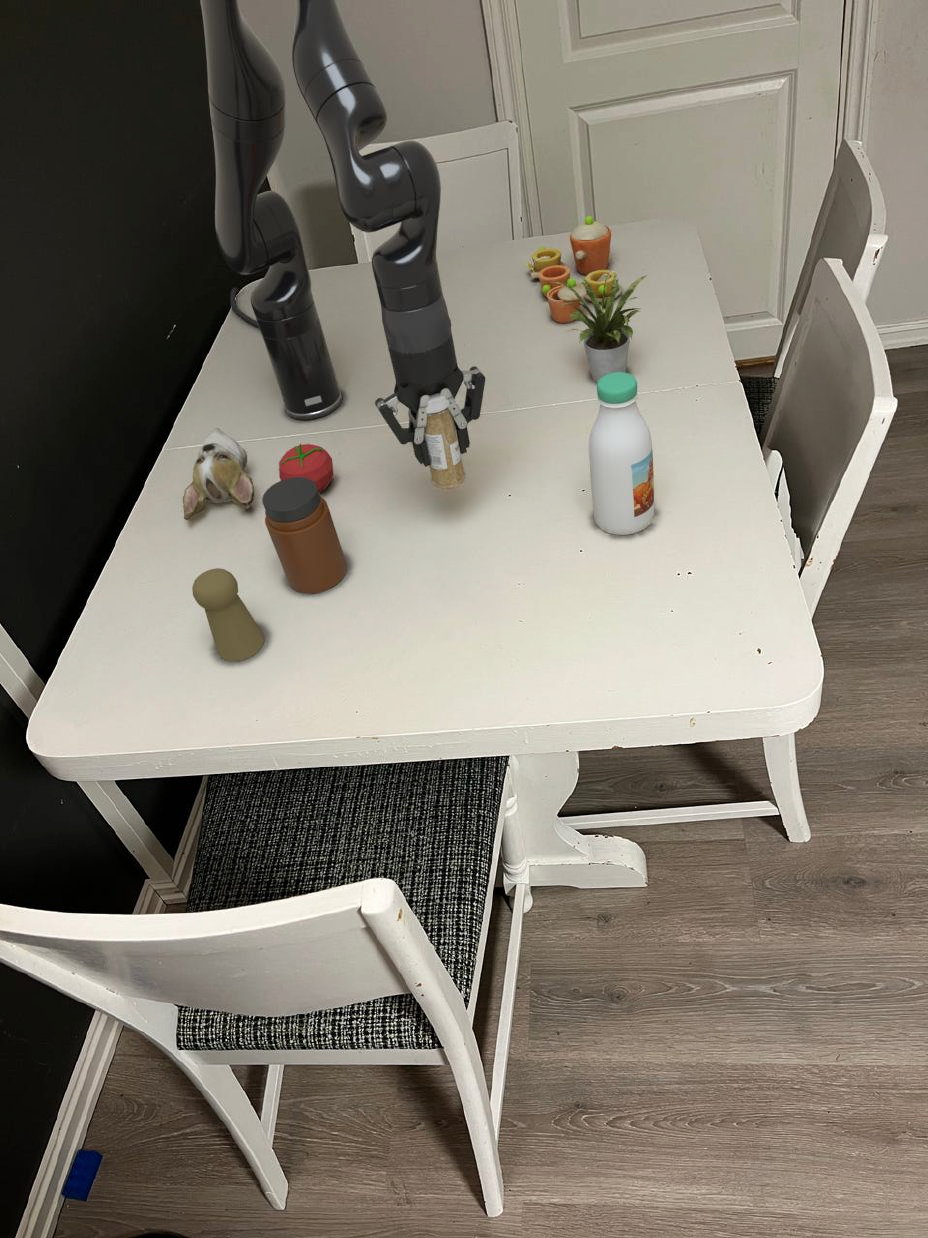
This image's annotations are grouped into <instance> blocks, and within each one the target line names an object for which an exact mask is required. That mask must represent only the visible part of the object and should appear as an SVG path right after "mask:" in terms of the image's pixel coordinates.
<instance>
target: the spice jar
mask: <svg viewBox="0 0 928 1238" xmlns="http://www.w3.org/2000/svg"><path fill="white" fill-rule="evenodd" d="M429 397H430V401H428V407H426V408H425V411H426V414H428V416H427V425H426V427H425V430H424V440H425V441H426V444H427V449H428V454H429V458H430V463H431V465H430V466H428V467H429V471H430V475H431V479H430V481H431V484H432V486H434V488H436V489H439V490H446V491H447V490H452V489H456V488H458V487H460V486H461V485H462V484H463V483H464V482H465V480H466V472H465V469H464V465H463V459H462V454H461V452H460V447H459V442H458V437H457V432H456V426H455V423H454V419H453V417H452V415H451V413H450V411H449V408H448V407H449V405H450V404H449V400H446V398H445V396H441V395H440V394H439V393H436V394H434V395H431V396H429Z"/></svg>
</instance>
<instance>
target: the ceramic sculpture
mask: <svg viewBox="0 0 928 1238" xmlns="http://www.w3.org/2000/svg"><path fill="white" fill-rule="evenodd" d="M247 453H248V452H247V450H246V449H245V448H243V447H242V446H241V444H239V442H237V441H236V439H234V438H233V437H231V436H230V435H229V434H227V433H226V432H224V431H222V430H221V429H220V428H219V427H214V428H213V429H212V431H211V433H210V434H209V435H208V436H207V437H206V438H205V439H204V440H203V443H202V445H201V447H200V448H199V451H198V455H197V458H196V460H195V462H194V465H193V469H192V470H193V471H192V482H191V483H190V484H189V485H188V486H187V487H186V488H185V489H184V491H183V493H184V494H183V496H182V504H183V506H182V507H183V520H187V521H188V520H189V519H192V518H194V517H197V516H198V515H200V514H201V513H202V512H203V511H204V510H205V509H206V506H207V502H206V501H208V502H210V503H212V504H221V503H226V502H230V501H232V502H233V503H234V505H238V506H239V507H242V508H245V509H249V508H250V506H251V505H252V503H253V501H254V499H255V498H254V497H255V485H254V482H253V478H252V477H251V476H250V475H249V474H248V473H246V472H244V470H246V468H247V464H248V454H247Z"/></svg>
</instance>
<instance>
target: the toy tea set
mask: <svg viewBox="0 0 928 1238" xmlns="http://www.w3.org/2000/svg"><path fill="white" fill-rule="evenodd" d="M611 242H612V231H611V228H610V227H608V226H607V225H605V224H603V223H602V222H599V221H597V220H594V218H593V217H592V216H591V215H588V216H586V217H585V218H584V222H581V223H580V224H578V225H577V226H576V227H575V228H574V229H573V230H572V232H571V233H570V234H569V243H570V247H571V250H572V254H573V258H574V262H575V263H574V264H575V267H576V270H577V272H578V273H579V274H582V275H586V276H585V277H584V279H585V280H586V281H587V282H588V283H589V284H590V286H591V289H592V290H593V291H594V293H595V295H596V297H597V299H598V302H599V303H601V301H602V299H603V290H604V283H605V280H606V277H607V275H608V274H609V275H608V278H607V281H606V286H605V296H604V298H606V297H610V295H611V293H610V292H611V286H612V283H613V277H614V274H615V276H616V287H617V286H618V287H617V288H616V295H615V299H617V298H618V297H619V296H620V295H621V293H622V286H621V285H620V284H619V281H620V280H619V275H618V273H617V272H616V271H615V270H610V269H608V267H609V264H610V254H611V253H610V251H611ZM531 260H532V263H533V265H532V264H531V263H529V262H528V261H526V265H527V268H529V269H530V270H529V272H530V278H531V279H539V284H540V287H541V291H542V294H543V296H544V297H545V298H547V302H548V305H549V309H550V312H551V317H552V319H553V321H554V322H556V323H561V324H564V323H565V324H566V323H571V322H573V321H575V320H574V319H571V318H569V316H570V315H571V314H572V313H573V312H576V311H578V310H577V309H575V308H574V307H576V308H578V309H579V310H580V311H581V305H579V304H577V303H581V301H580V300H579V299H578V298H577V296H576V295H575V294H574V293H573V292H572V291H571V290H570V289H569V288H567V287H565V286H563V285H561V284H558V283H553V282H559V283H563V284H566V285H569V286H571V287H572V288H573V289H574V290H575V291H576V292H577V293H578V294H579V296H580V297H581V298H582V299H583V298H584V299H585V300H587V301H589V302H592V301H591V299H590V297H589V295H588V294H587V292H586V289H585V287H584V286H583V284H582V283H577V280H576V279H575V278H574V277H571V269H570V268H569V266H567V265H566V263H565V262H563V261H561V260H562V252H561V250H559V249H558V248H554V247H549V248H548V247H547V248H546V247H544V246H540V247H539V248H538V249H537V250H536V251H534V252H533V253H532V255H531ZM609 272H610V273H609ZM609 294H610V295H609ZM608 295H609V296H608ZM569 302H575V303H569ZM565 303H569V304H565ZM563 304H565V305H563ZM562 305H563V306H562ZM564 306H567V307H564ZM571 306H574V307H571ZM562 307H563V308H562Z"/></svg>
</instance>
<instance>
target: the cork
mask: <svg viewBox="0 0 928 1238" xmlns="http://www.w3.org/2000/svg"><path fill="white" fill-rule="evenodd" d="M191 589H192V590H191V591H192V596H193V598H194V600H195V602H196V604H198V606H199V607H201V608H202V609H204V612H205V616H206V619H207V623H208V625H209V629H210V633H211V636H212V640H213V642H214V646H215V651H216V653H217V655H218V657H219V658H220V659H221V660H223V661H226V662H230V663H234V662H235V663H237V662H242V661H246V660H247V659H250V658H251V657H253V656H255V655H256V654H257V653H258V652H259V651H260V650H261V649H262V647H263V646H264V643H265V639H266V638H265V634H264V632H263V630H262V629H261V628H260V626H259V624H258V623H257V621H256V620H255V618H254V617H253V616H252V614H251V613H250V611H249V609H248V608H247V606H246V604H245V603H244V602H243V600H242V599H241V597H240V596H239V594H238V593H239V583H238V581H237V579H236V578H235V576H234V575H233V573H232V572H230V571H228V570H226V569H225V568H221V567H219V568H211V569H208V570H206V571H204V572H202V573H200V574H199V575H198V576H197V577H196V578H195V579H194V581H193V584H192V588H191Z"/></svg>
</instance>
